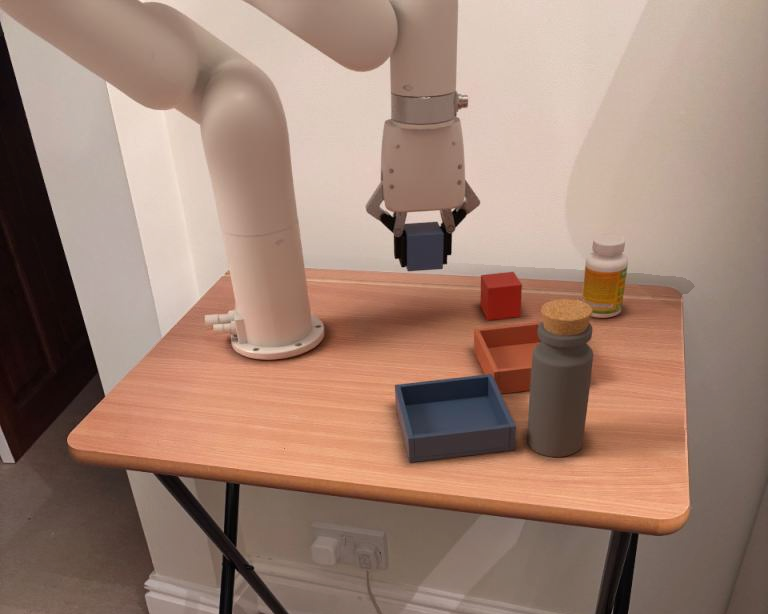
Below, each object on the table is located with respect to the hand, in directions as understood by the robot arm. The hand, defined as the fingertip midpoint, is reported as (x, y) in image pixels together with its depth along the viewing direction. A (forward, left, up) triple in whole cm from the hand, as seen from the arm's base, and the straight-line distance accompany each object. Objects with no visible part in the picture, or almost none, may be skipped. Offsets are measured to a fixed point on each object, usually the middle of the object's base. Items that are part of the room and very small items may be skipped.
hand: (422, 260), depth 102 cm
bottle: (+9, -32, -9) cm, 35 cm away
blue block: (0, 0, 0) cm, 0 cm away
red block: (+11, 0, -8) cm, 14 cm away
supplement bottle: (+24, -3, -9) cm, 25 cm away
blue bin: (-1, -27, -8) cm, 29 cm away
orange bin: (+10, -16, -8) cm, 21 cm away
